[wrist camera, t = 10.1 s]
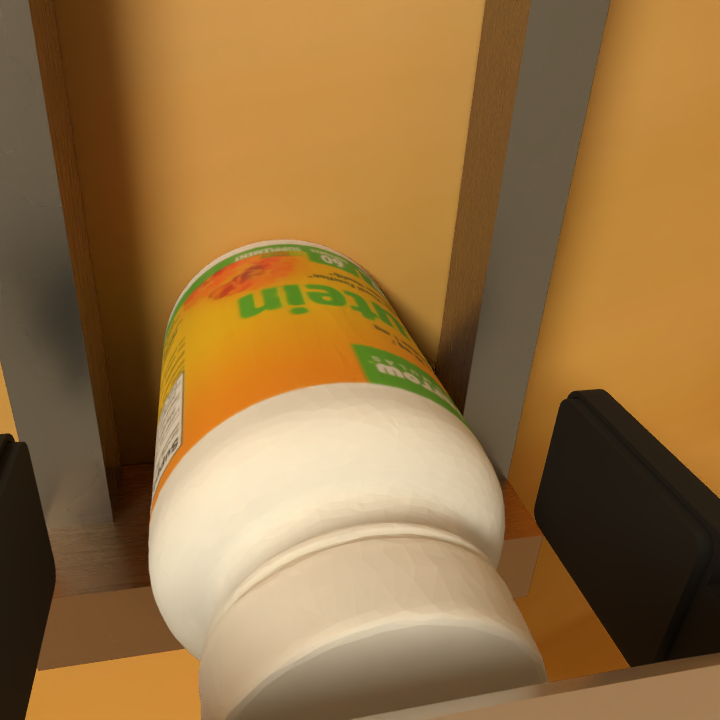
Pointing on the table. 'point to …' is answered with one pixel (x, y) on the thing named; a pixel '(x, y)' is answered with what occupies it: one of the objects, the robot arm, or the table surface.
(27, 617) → the robot arm
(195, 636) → the supplement bottle
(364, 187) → the table surface
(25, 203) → the u-shaped frame
